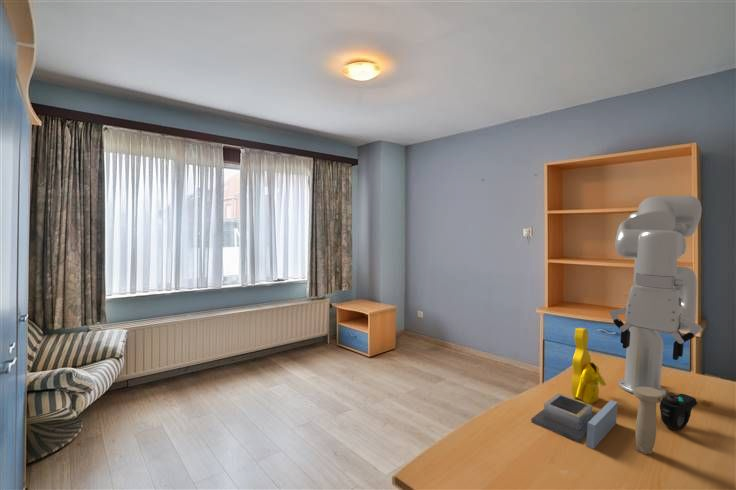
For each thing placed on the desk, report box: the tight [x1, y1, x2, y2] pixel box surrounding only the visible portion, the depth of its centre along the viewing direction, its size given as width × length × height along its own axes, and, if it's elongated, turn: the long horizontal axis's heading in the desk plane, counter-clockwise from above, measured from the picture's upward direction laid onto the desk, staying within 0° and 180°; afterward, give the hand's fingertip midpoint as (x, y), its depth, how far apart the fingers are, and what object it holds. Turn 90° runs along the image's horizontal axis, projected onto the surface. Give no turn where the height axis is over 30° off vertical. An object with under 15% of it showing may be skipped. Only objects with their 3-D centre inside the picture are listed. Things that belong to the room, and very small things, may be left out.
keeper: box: [530, 393, 598, 443], centre depth 100 cm, size 18×12×4 cm, turn 131°
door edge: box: [585, 399, 618, 450], centre depth 94 cm, size 18×2×6 cm, turn 131°
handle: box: [633, 387, 664, 455], centre depth 87 cm, size 5×6×15 cm
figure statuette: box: [571, 327, 607, 405], centre depth 113 cm, size 18×8×22 cm, turn 123°
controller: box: [659, 392, 698, 431], centre depth 98 cm, size 4×12×10 cm, turn 115°
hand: (649, 352), depth 86 cm, fingers open, 9 cm apart
